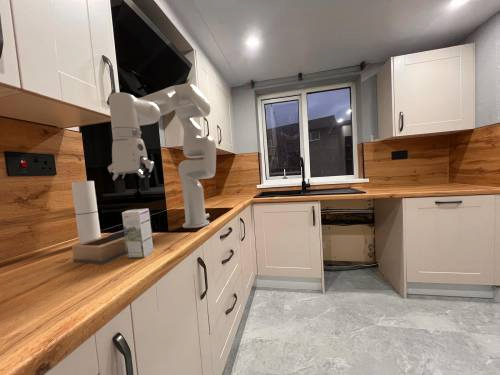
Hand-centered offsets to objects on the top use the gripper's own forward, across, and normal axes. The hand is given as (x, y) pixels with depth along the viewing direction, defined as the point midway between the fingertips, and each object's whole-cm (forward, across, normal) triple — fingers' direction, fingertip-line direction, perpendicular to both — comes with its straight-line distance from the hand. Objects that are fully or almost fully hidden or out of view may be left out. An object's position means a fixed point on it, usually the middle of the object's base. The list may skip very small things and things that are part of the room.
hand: (132, 191), depth 69 cm
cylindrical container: (+20, +34, -9) cm, 41 cm away
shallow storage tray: (+20, +13, -3) cm, 24 cm away
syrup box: (+20, 0, -1) cm, 20 cm away
